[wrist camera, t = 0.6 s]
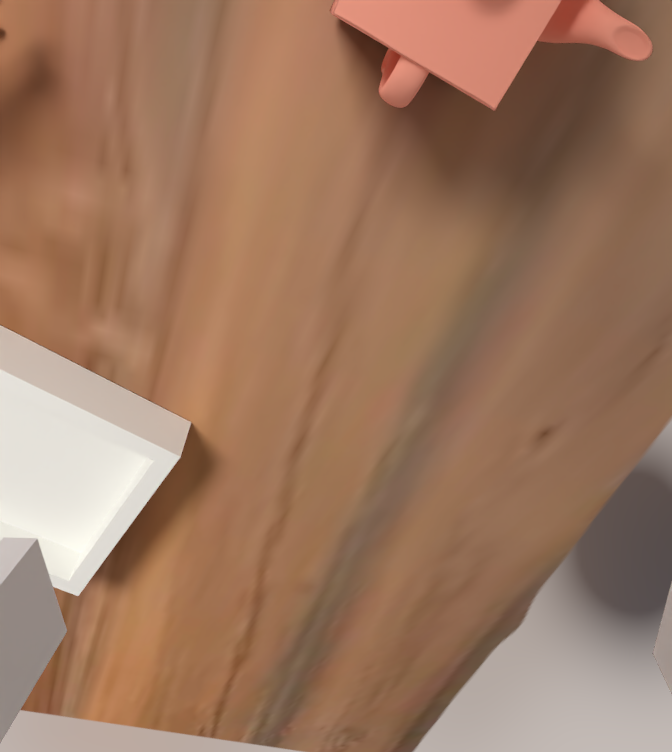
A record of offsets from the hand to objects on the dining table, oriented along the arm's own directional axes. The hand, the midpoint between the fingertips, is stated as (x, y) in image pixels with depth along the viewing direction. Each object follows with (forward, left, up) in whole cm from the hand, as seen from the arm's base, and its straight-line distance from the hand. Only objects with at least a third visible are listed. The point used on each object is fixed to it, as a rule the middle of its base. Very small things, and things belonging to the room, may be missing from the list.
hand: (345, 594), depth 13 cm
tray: (+24, -10, -24) cm, 35 cm away
